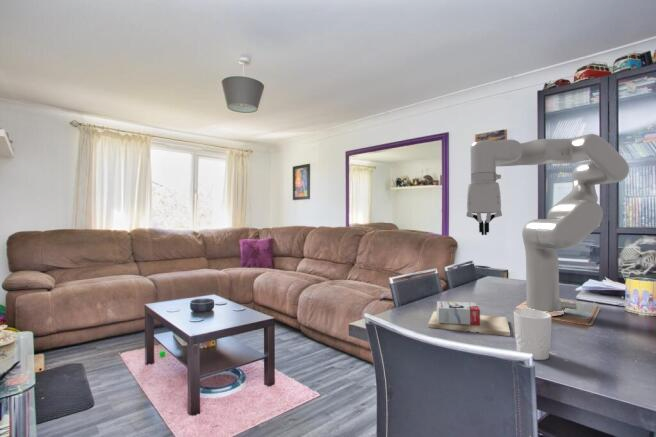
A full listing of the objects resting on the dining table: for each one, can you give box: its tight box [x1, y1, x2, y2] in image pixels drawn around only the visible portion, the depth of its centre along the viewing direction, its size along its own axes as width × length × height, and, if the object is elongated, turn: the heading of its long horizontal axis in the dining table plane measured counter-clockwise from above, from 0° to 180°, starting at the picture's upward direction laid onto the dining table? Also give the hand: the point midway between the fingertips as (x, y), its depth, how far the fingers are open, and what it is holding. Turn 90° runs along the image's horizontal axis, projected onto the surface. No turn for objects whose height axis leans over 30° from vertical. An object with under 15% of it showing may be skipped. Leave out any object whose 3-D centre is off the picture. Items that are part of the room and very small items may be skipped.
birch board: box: [428, 310, 511, 337], centre depth 106 cm, size 22×14×1 cm, turn 66°
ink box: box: [436, 300, 481, 325], centre depth 106 cm, size 9×5×12 cm
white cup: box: [513, 308, 553, 361], centre depth 83 cm, size 8×8×10 cm
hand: (484, 234), depth 114 cm, fingers closed
